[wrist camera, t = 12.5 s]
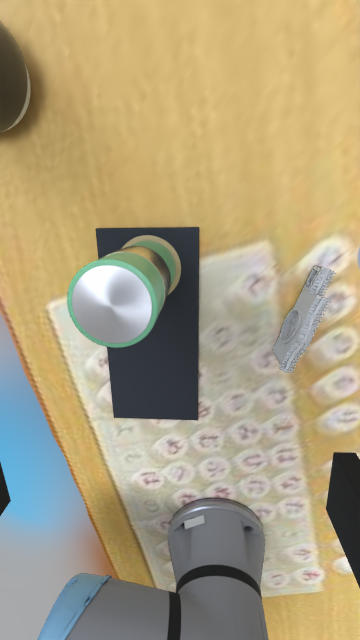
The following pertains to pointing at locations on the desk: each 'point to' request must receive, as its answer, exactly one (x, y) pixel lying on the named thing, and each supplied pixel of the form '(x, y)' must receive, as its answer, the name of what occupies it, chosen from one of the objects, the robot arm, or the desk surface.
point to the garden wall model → (302, 319)
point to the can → (121, 294)
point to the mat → (160, 334)
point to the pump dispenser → (12, 81)
